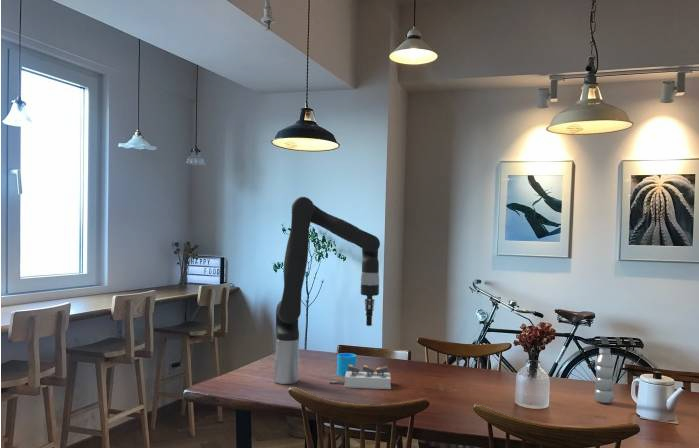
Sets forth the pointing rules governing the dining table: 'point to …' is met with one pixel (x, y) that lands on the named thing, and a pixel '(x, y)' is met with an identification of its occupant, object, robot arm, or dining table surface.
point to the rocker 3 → (382, 369)
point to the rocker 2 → (368, 369)
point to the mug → (345, 362)
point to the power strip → (366, 380)
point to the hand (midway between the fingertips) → (369, 325)
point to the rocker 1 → (353, 368)
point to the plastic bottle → (604, 376)
